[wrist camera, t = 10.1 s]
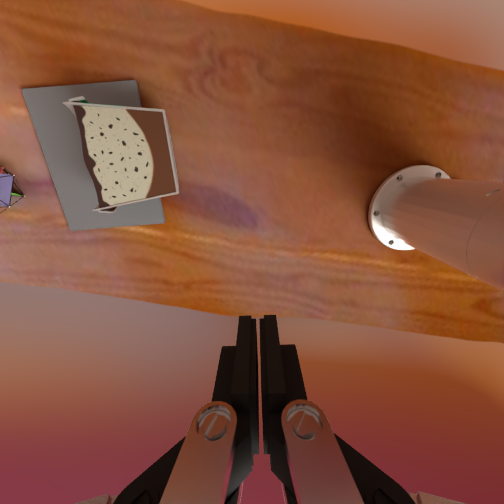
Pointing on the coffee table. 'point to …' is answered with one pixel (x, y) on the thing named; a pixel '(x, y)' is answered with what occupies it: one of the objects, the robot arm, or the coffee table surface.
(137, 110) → the food container
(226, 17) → the coffee table surface
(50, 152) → the mat
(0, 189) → the geometric puzzle
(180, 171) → the coffee table surface
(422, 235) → the robot arm
